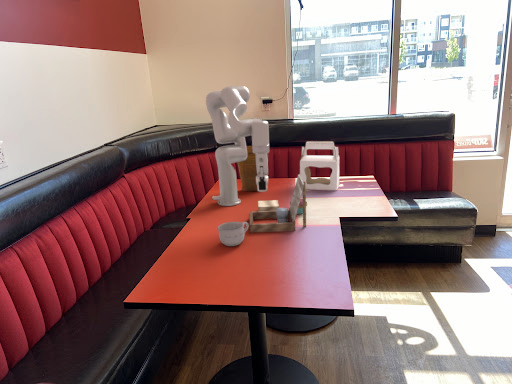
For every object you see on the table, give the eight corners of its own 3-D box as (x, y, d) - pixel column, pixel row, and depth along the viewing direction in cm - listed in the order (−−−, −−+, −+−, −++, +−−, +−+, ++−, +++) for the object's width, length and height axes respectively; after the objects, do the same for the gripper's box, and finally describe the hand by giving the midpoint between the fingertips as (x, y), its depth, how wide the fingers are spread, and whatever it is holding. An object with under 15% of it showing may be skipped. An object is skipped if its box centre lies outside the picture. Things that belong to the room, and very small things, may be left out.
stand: (258, 216, 189) (258, 207, 188) (258, 210, 199) (258, 201, 197) (279, 215, 189) (278, 206, 188) (277, 209, 199) (277, 200, 197)
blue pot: (276, 225, 177) (276, 211, 175) (276, 221, 182) (275, 208, 180) (289, 224, 177) (288, 211, 175) (288, 220, 182) (287, 207, 180)
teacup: (225, 251, 153) (223, 232, 151) (215, 241, 162) (213, 224, 160) (256, 243, 159) (255, 224, 157) (244, 234, 168) (243, 217, 166)
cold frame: (250, 232, 170) (247, 186, 164) (250, 218, 187) (248, 176, 182) (307, 229, 170) (306, 183, 164) (302, 216, 187) (301, 174, 181)
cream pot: (256, 192, 174) (255, 178, 172) (256, 188, 180) (255, 175, 178) (268, 191, 174) (268, 177, 172) (268, 188, 180) (268, 174, 178)
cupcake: (306, 215, 188) (306, 191, 185) (289, 215, 190) (288, 191, 186) (307, 209, 196) (307, 186, 193) (291, 209, 198) (290, 186, 194)
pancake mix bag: (269, 191, 231) (267, 145, 223) (238, 192, 234) (235, 146, 226) (270, 188, 237) (269, 143, 229) (240, 189, 240) (237, 144, 232)
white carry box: (299, 189, 233) (299, 143, 226) (304, 183, 245) (303, 139, 238) (337, 190, 227) (337, 143, 219) (339, 184, 239) (340, 139, 231)
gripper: (269, 152, 163) (271, 193, 168) (268, 145, 180) (270, 182, 185) (252, 152, 163) (253, 193, 169) (252, 145, 180) (254, 183, 185)
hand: (262, 187), depth 177 cm, fingers closed on cream pot, 5 cm apart
